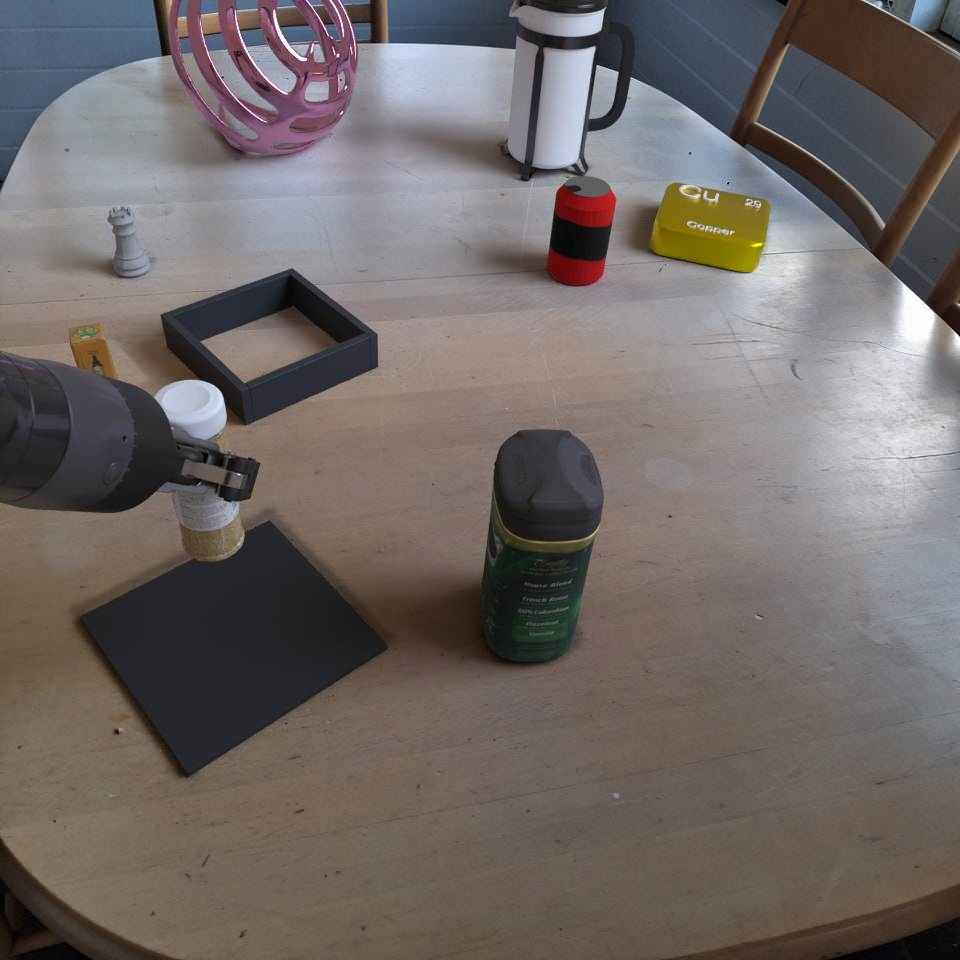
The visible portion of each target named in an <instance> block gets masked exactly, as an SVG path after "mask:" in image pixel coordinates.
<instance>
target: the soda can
mask: <svg viewBox="0 0 960 960" xmlns="http://www.w3.org/2000/svg"><path fill="white" fill-rule="evenodd" d="M554 199H555V200H554V207H553V215H552V222H551V230H550V237H549V244H548V245H549V246H548V254H547V261H546V270H547V272H548V273H549V274H550V276H551V277H552V278H553V279H554V280H556V281H558V282H560V283H563V284H565V285H570V286H578V287H579V286H589V285H592V284H595V283H596V282H598V281H599V280H600V279H601V278H602V277H603V276H604V272H605V267H606V262H607V255H608V250H609V245H610V240H611V239H610V238H611V232H612V227H613V221H614V216H615V212H616V211H615V210H616V204H617V197H616V195H615V193H614V192H613V190H612V188H611V185H610V184H609V183H608V182H607V181H605V180H603V179H601V178H599V177H594V176H589V175H584V176H579V175H578V176H577V175H576V176H573V177H570V178H568V179H567V180H566V181H565V182H564V183H563V184H562V185H561V186H560V187H559V188H558V189H557V190H556V193H555V198H554Z"/></svg>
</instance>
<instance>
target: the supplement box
mask: <svg viewBox="0 0 960 960" xmlns="http://www.w3.org/2000/svg"><path fill="white" fill-rule="evenodd" d="M68 334H69V336H68V337H69V347H70V349H71V352H72V356H73V359H74V361H75V364H76V367H77V368H80V369H84V370H87V371H90V372H93V373H97V374H100V375H103V376H107V377H110V378H113V379H116V380H119V378H118V375H117V371H116V368H115V364H114V361H113V358H112V357H113V356H112V353H111V350H110V347H109V344H108V340H107V337H106V333H105V330H104V326H103V325H102V323H101V322H97V323H91V324H86V325H79V326H75V327H69V328H68Z"/></svg>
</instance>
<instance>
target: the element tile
mask: <svg viewBox="0 0 960 960" xmlns="http://www.w3.org/2000/svg"><path fill="white" fill-rule="evenodd" d="M771 208H772V207H771V204H770V203H769V202H768V200H766V199H764V198H760V197H755V196H749V195H744V194H739V193H734V192H729V191H724V190H719V189H713V188H709V187H703V186H698V185H693V184H688V183H682V182H672V183H669V184H668V185H667V186H666V188H665V191H664V194H663V197H662V200H661V201H660V205H659V208H658V210H657V213H656V216H655V219H654V222H653V227H652V232H651V237H650V241H649V248H650V250H651V251H652V252H653V253H654V254H656V255H659V256H662V257H666V258H670V259H675V260H681V261H686V262H691V263H695V264H700V265H705V266H709V267H715V268H718V269H724V270H729V271H732V272H733V271H734V272H739V273H751V272H754V271H756V270H757V269H758V267H759V265H760V262H761V261H760V260H761V257H762V254H763V252H764V248H765V244H766V240H767V234H768V228H769V223H770V222H769V221H770V214H771Z"/></svg>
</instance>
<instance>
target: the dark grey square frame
mask: <svg viewBox="0 0 960 960" xmlns="http://www.w3.org/2000/svg"><path fill="white" fill-rule="evenodd" d="M292 307H293V308H294V309H295V310H296V311H298V312H299V313H300V314H302V315H303V316H304V317H305V318H306V319H308V320H309V321H310V322H311V323H313V324H314V325H315V326H316V327H318V328H319V330H321V331H323V332H324V333H325V334H327V335H328V336H329V338H331V339H332V340H334V341H335V342H336V343H337V344H335V345H332V346H330V347H327V348H326V349H322V350H321V351H319V352H316V353H314V354H311V355H309V356H306V357H303V358H301V359H298V360H296V361H294V362H291V363H289V364H287V365H284V366H282V367H279V368H277V369H274V370H272V371H270V372H268V373H265V374H263V375H261V376H257V377H256V378H253V379H251V380H248V381H246V382H244V381H243V380H242V379H241V378H240V377H238V375H236V374H235V373H234V372H233V371H232V370H231V369H230V368H229V367H228V366H227V365H226V364H225V363H224V362H223V361H222V360H220V359H219V358H218V357H217V356H216V355H215V354H214V353H213V352H212V351H211V350H210V349H209V348H208V347H207V346H205V344H204V343H202V342H203V341H205V340H207V339H210V338H213V337H215V336H217V335H220V334H223V333H225V332H228V331H231V330H234V329H237V328H238V327H241V326H245V325H247V324H250V323H252V322H255V321H258V320H260V319H263V318H265V317H268V316H271V315H273V314H276V313H279V312H281V311H285V310H287V309H289V308H292ZM160 320H161V324H162V330H163V335H164V340H165V344H166V349H168V350H169V351H170V353H172V354H173V355H174V356H175V358H177V359H178V360H179V361H180V362H181V363H182V364H183V365H184V366H185V367H186V368H187V369H188V371H190V372H191V373H192V374H193V375H194V376H195V377H196V378H197V380H200V381H204V382H208V383H210V384H212V385H214V386H215V387H217V388H218V389H219V390H220V392H221V393H222V395H223V399H224V403H225V407H227V408H228V409H229V410H230V411H231V412H232V413H233V414H234V415H235V416H236V417H237V419H239V420H240V422H242V423H243V424H244V425H245V426H248V425H250V424H253V423H255V422H256V421H259V420H261V419H263V418H265V417H268V416H270V415H272V414H275V413H277V412H279V411H282V410H283V409H286V408H288V407H290V406H293V405H295V404H298V403H301V402H302V401H304V400H306V399H308V398H311V397H313V396H315V395H318V394H320V393H322V392H325V391H327V390H329V389H331V388H333V387H335V386H338V385H340V384H343V383H344V382H347V381H349V380H352V379H354V378H356V377H358V376H360V375H363V374H365V373H368V372H369V371H372V370H374V369H377V368H379V342H378V341H379V336H378V333H377V332H376V331H375V330H373V329H372V328H370V327H369V326H368V324H365V323H364V322H362V321H361V320H360V319H359V318H358V317H357V316H355V315H354V314H353V313H351V312H350V311H349V310H348V309H346V308H345V307H343V306H342V305H341V304H340V303H338V302H337V301H336V300H334V299H333V298H332V297H330V296H329V295H328V294H326V292H324V291H323V290H322V289H320V288H319V287H317V286H316V285H315V284H314V283H312V282H311V281H310V280H308V278H306V277H305V276H303V274H301V273H300V272H298V271H297V270H295V269H294V268H293V267H292V268H288V269H286V270H283V271H280V272H277V273H275V274H271V275H268V276H265V277H263V278H260V279H257V280H255V281H252V282H249V283H246V284H243V285H240V286H237V287H235V288H231V289H229V290H226V291H223V292H221V293H217V294H214V295H212V296H209V297H206V298H202V299H201V300H197V301H195V302H192V303H188V304H186V305H183V306H180V307H178V308H175V309H171V310H169V311H166V312H163V313H160Z"/></svg>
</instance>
